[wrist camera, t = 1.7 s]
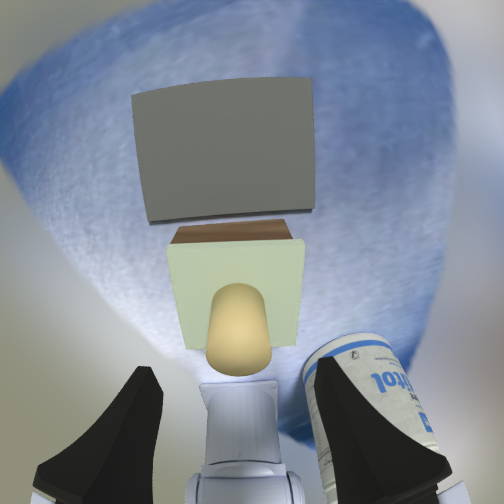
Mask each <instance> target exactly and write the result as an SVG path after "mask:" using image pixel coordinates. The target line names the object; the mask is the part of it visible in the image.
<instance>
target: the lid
mask: <svg viewBox="0 0 504 504" xmlns="http://www.w3.org/2000/svg"><path fill="white" fill-rule="evenodd" d="M166 255H167V261H168V267H169V272H170V278H171V283H172V288H173V293H174V298H175V303H176V308H177V312H178V317H179V321H180V326H181V330H182V334H183V339H184V343H185V347H186V349H206V359H207V361H208V363H209V365H210V366H211V367H212V368H213V369H215V370H216V371H218V372H220V373H222V374H225V375H229V376H248V375H252V374H255V373H258V372H260V371H261V370H263V369H264V368H265V367H266V366H267V365H268V364H269V362H270V361H271V357H272V352H271V347H280V346H293V345H296V337H297V329H298V320H299V311H300V301H301V290H302V279H303V268H304V255H305V244H304V242H303V240H302V239H288V240H258V241H231V242H205V243H182V244H169V245H168V247H167V249H166Z"/></svg>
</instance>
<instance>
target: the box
mask: <svg viewBox="0 0 504 504" xmlns="http://www.w3.org/2000/svg"><path fill="white" fill-rule="evenodd" d="M288 239H293V238H292V236H291V234H290V232H289V229H288V227H287V225H286V223H285V221H284V219H274V220H258V221H244V222H230V223H217V224H205V225H193V226H182V227H179V228H178V230H177V232H176V234H175V236H174V238H173V240H172V241H171V243H170V244H182V243H205V242H231V241H258V240H288Z"/></svg>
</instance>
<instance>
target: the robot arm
mask: <svg viewBox="0 0 504 504" xmlns="http://www.w3.org/2000/svg"><path fill="white" fill-rule="evenodd" d="M199 389H200V392H201V395H202V397H203V400H204V403H205V405H206V408H207V410H208V420H207V437H206V459H205V465H202V466H201V473H195V474H194V475H193V476H192V477H190V478H189V480H188V482H187V485H186V490H185V504H305V496H304V490H303V485H302V482H301V479H300V477H299V476H298V475H296V474H295V473H294V472H293V471H286V466H285V464H282V462H281V453H280V446H279V437H278V429H277V415H278V381H276V380H268V381H255V382H239V383H211V384H200V386H199ZM314 391H315V397H316V402H317V407H318V410H319V414H320V417H321V420H322V424H323V427H324V430H325V433H326V437H327V440H328V443H329V447H330V451H331V456H332V462H333V468H334V475H335V483H336V491H337V501H338V504H471V501H470V498H469V495H468V492H467V489H466V487H465V484H464V481H460V482H459V483H457V484H455V485H454V486H452V487H450V488H449V489H447V490H445V491H443V492H441V493H439V494H436V491H437V490H438V486H437V483H439V482H440V481H442V480H444V479H445V478H447V477H448V476H450V475H451V474H452V469H451V467H450V464H449V462H448V461H447V459H446V457H445V456H443V455H441V454H439V453H437V452H434V451H433V450H431V449H429V448H427V447H425V446H423V445H422V444H420V443H418V442H417V441H415V440H414V439H412V438H411V437H409V436H408V435H406V434H405V433H403V432H402V431H401V430H399V429H398V428H397V427H395V426H394V425H393V424H392V423H390V422H389V421H388V420H387V419H386V418H385V417H384V416H383V415H382V414H380V413H379V412H378V411H377V410H376V409H375V408H374V407H373V406H372V405H371V403H370V402H369V401H368V400H367V399H366V398H365V397H364V396H363V395H362V394H361V392H360V391H359V390H358V389H357V388H356V386H355V385H354V384H353V383H352V382H351V380H350V379H349V378H348V376H347V375H346V374H345V372H344V371H343V370H342V368H341V367H340V365H339V364H338V363H337V361H336V360H335V358H334V357H333V356H329V357H323V358H318V363H317V369H316V375H315V380H314ZM162 406H163V391H162V389H161V387H160V385H159V383H158V381H157V379H156V377H155V375H154V373H153V371H152V369H151V367H147V366H146V367H145V366H138V367H137V368H136V369H135V371H134V372H133V374H132V375H131V376H130V378H129V380H128V381H127V382H126V384H125V385H124V386H123V388H122V389H121V391H120V392H119V393H118V395H117V396H116V397H115V399H114V400H113V401H112V403H111V404H110V405H109V406H108V408H107V409H106V410H105V411H104V413H103V414H102V415H101V416H100V417H99V418H98V420H97V421H96V422H95V423H94V424H93V425H92V426H91V427H90V428H89V429H88V430H87V431H86V432H85V433H84V434H83V435H82V436H81V437H80V438H78V439H77V440H76V441H75V442H74V443H73V444H71V445H70V446H69V447H67V448H66V449H64V450H63V451H62V452H60V453H59V454H57V455H56V456H54V457H52V458H51V459H49V460H47V461H45V462H43V463H42V464H40V465H38V468H37V471H36V474H35V478H34V481H33V487H35V488H36V489H38V490H40V491H42V492H44V493H45V494H47V495H49V496H51V497H53V498H55V499H56V502H53V501H51V500H49V499H47V498H45V497H43V496H41V495H39V494H38V493H36V492H33V494H32V498H31V503H30V504H153V494H152V473H153V457H154V449H155V445H156V440H157V434H158V430H159V425H160V420H161V415H162Z"/></svg>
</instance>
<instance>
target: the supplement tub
mask: <svg viewBox="0 0 504 504" xmlns="http://www.w3.org/2000/svg"><path fill="white" fill-rule="evenodd" d="M329 356H333V357H334V358H335V360H336V361H337V363H338V364H339V365H340V367H341V368H342V370H343V371H344V372H345V374H346V375H347V376H348V378H349V379H350V380H351V382H352V383H353V384H354V385H355V386H356V388H357V389H358V390H359V391H360V392H361V394H362V395H363V396H364V397H365V398H366V399H367V400H368V401H369V402H370V403H371V405H372V406H373V407H374V408H375V409H376V410H377V411H378V412H379V413H380V414H382V415H383V416H384V417H385V418H386V419H387V420H388V421H389V422H390V423H392V424H393V425H394V426H395V427H397V428H398V429H399V430H401V431H402V432H403V433H405V434H406V435H408V436H409V437H411V438H412V439H414V440H415V441H417V442H418V443H420V444H422V445H423V446H425V447H427V448H429V449H431V450H433V451H434V452H437V453H439V446H437V441H436V438H435V436H434V433H433V431H432V429H431V427H430V424H429V422H428V420H427V417H426V415H425V413H424V411H423V409H422V407H421V404H420V402H419V400H418V398H417V396H416V394H415V392H414V390H413V388H412V386H411V384H410V382H409V380H408V378H407V376H406V374H405V372H404V370H403V368H402V366H401V364H400V363H399V361H398V359H397V357H396V355H395V353H394V351H393V350H392V348H391V346H390V344H389V343H388V342H387V340H386V339H384V338H383V337H381V336H379V335H377V334H373V333H355V334H350V335H346V336H342V337H340V338H337V339H335V340H333V341H331V342H329V343H327V344H326V345H324V346H323V347H321V348H320V349H319V350H318V351H316V352H315V353H314V354H313V355H312V356H311V358H310V359H309V360H308V362H307V363H306V365H305V368H304V371H303V383H304V387H305V393H306V398H307V403H308V408H309V413H310V419H311V424H312V429H313V435H314V440H315V446H316V451H317V457H318V463H319V469H320V474H321V479H322V485H323V489H324V494H325V495H326V499H327V504H338V501H337V491H336V483H335V475H334V468H333V462H332V456H331V451H330V447H329V443H328V440H327V437H326V433H325V430H324V427H323V424H322V420H321V417H320V414H319V410H318V407H317V402H316V397H315V391H314V380H315V375H316V369H317V363H318V358H323V357H329ZM439 454H440V453H439Z"/></svg>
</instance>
